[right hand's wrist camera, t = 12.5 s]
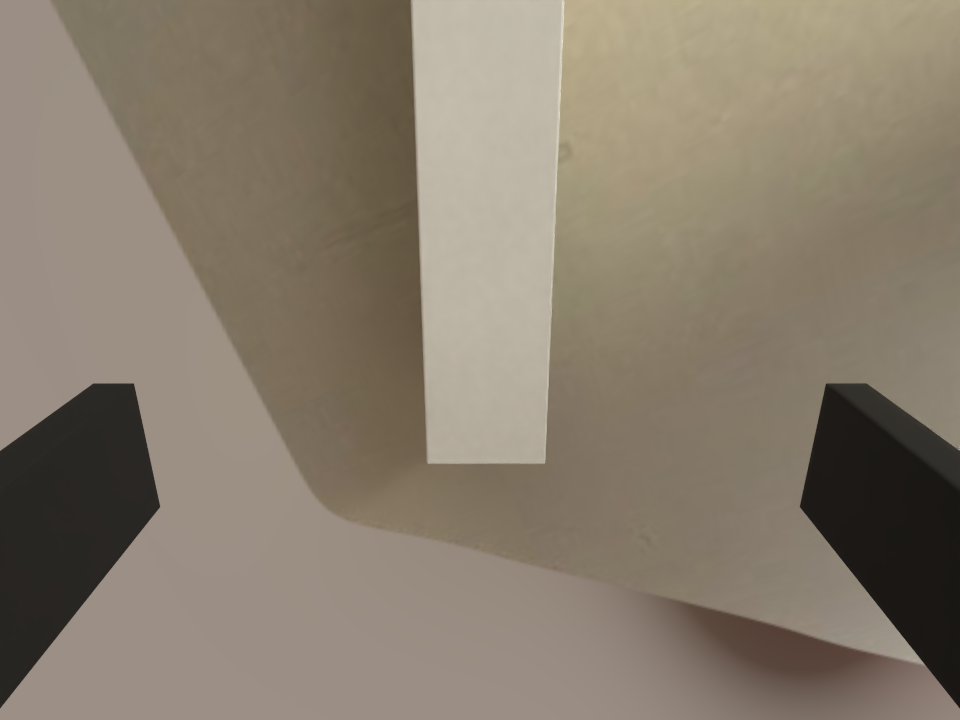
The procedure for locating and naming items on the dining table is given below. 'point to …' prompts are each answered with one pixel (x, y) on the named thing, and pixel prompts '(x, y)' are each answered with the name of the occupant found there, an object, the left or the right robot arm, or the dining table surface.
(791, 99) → the dining table surface
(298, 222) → the dining table surface
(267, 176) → the dining table surface
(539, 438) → the bar
